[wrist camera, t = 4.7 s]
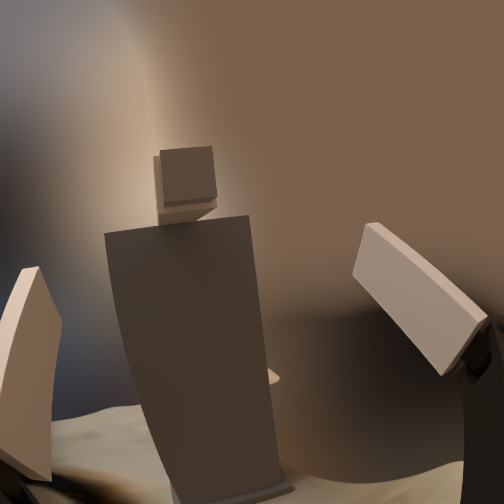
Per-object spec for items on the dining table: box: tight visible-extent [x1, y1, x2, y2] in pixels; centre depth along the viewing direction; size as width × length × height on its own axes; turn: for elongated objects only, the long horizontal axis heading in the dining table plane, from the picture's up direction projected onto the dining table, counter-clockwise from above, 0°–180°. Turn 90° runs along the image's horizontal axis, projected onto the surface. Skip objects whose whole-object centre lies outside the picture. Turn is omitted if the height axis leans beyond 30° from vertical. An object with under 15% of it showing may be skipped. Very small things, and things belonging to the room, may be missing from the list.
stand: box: [104, 215, 293, 504], centre depth 30 cm, size 14×14×32 cm
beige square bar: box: [153, 146, 217, 226], centre depth 26 cm, size 3×28×3 cm, turn 18°
